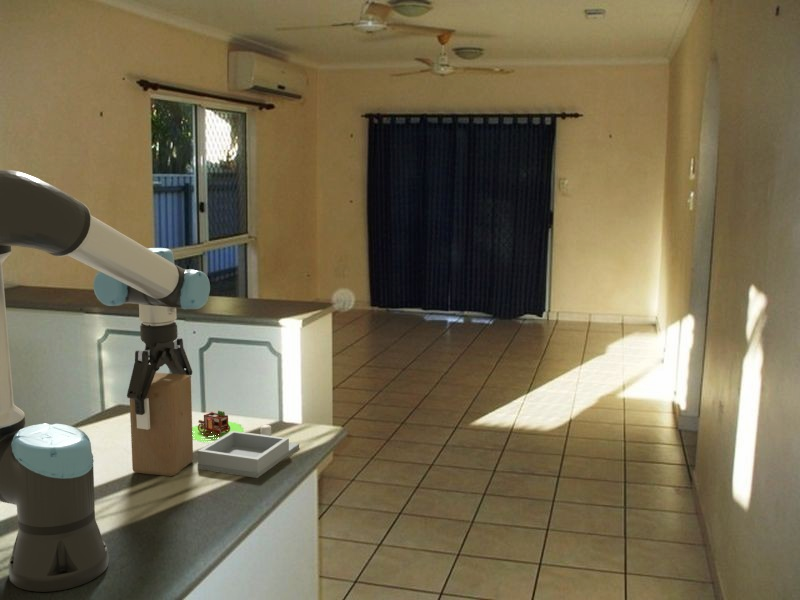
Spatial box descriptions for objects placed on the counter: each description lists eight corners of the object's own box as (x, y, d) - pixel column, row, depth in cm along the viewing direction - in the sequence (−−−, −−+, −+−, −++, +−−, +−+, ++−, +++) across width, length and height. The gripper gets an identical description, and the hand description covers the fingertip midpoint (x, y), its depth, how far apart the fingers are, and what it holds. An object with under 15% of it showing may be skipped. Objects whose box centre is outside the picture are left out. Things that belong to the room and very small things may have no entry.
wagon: (220, 448, 201) (219, 423, 200) (172, 437, 208) (171, 412, 207) (260, 430, 214) (260, 406, 213) (214, 420, 221) (213, 397, 220)
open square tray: (257, 478, 182) (257, 455, 181) (197, 468, 186) (197, 446, 185) (299, 447, 200) (298, 427, 199) (243, 440, 205) (243, 419, 204)
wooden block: (174, 478, 181) (171, 386, 177) (130, 473, 183) (127, 382, 179) (195, 461, 191) (192, 373, 187) (153, 457, 193) (150, 370, 189)
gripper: (137, 335, 168) (142, 439, 172) (206, 312, 192) (209, 403, 195) (105, 332, 171) (110, 434, 175) (177, 309, 194) (180, 400, 198)
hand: (162, 418), depth 185 cm, fingers open, 13 cm apart
